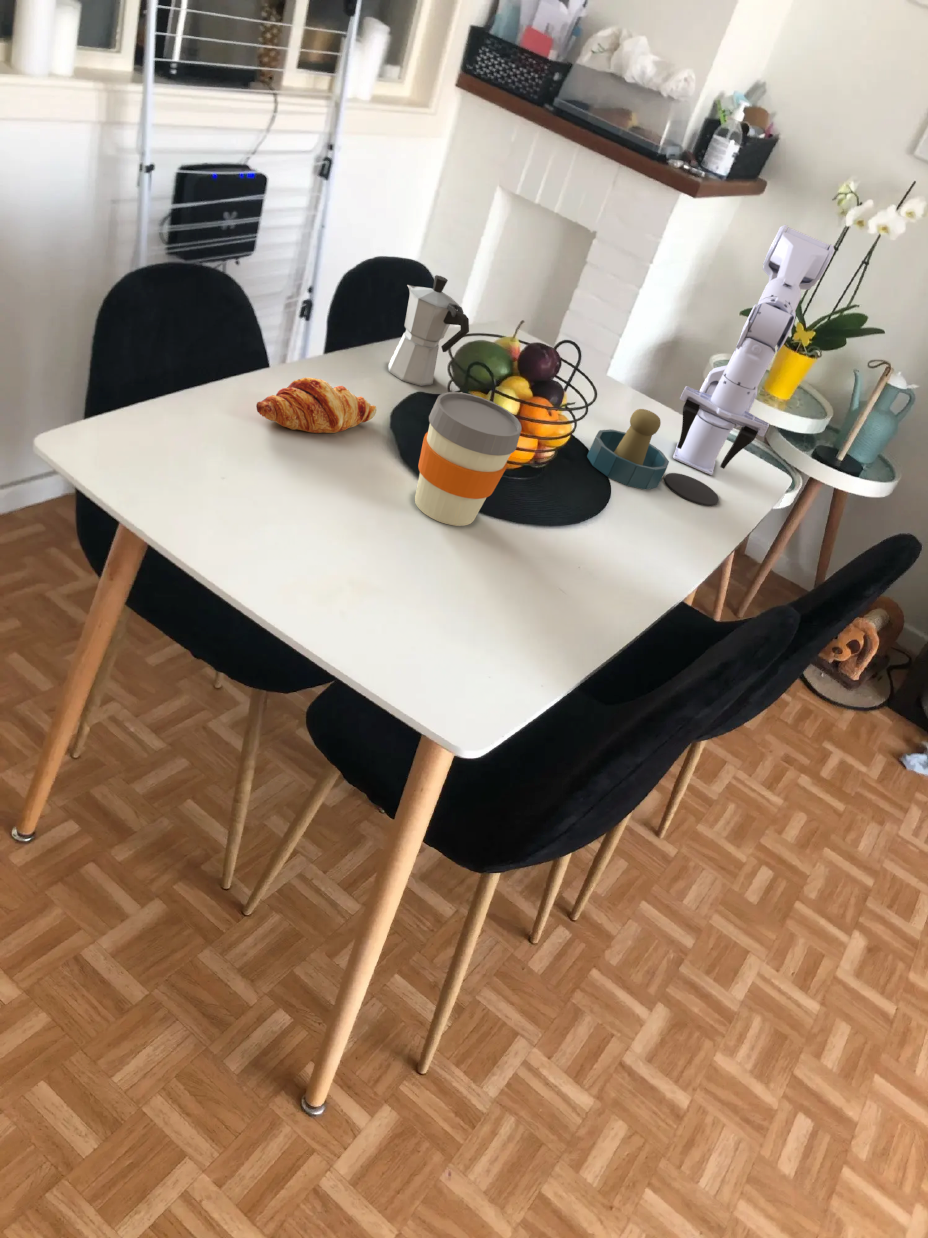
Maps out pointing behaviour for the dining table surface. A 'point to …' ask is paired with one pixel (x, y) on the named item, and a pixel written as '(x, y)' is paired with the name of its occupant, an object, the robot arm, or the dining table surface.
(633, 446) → the tan game pawn
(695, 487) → the black mat
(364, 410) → the croissant
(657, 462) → the teal hollow ring
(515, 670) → the dining table surface
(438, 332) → the coffee maker
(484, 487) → the reusable coffee cup
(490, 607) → the dining table surface
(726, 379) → the robot arm
